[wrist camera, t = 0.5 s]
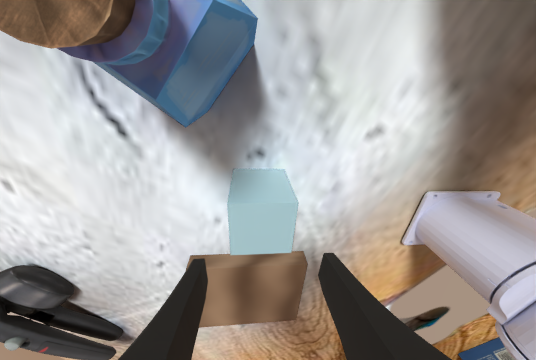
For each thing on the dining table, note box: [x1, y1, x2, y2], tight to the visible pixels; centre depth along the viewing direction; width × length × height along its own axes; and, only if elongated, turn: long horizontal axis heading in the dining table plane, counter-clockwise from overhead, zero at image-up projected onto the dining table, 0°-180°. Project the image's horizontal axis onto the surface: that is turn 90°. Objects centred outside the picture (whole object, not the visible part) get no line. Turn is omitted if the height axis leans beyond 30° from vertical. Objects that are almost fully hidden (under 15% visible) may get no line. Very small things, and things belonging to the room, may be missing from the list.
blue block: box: [227, 169, 298, 255], centre depth 17 cm, size 5×5×6 cm
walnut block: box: [186, 251, 307, 327], centre depth 26 cm, size 14×12×2 cm
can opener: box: [0, 265, 123, 360], centre depth 23 cm, size 18×7×6 cm, turn 22°
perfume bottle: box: [0, 0, 258, 127], centre depth 8 cm, size 6×6×12 cm
